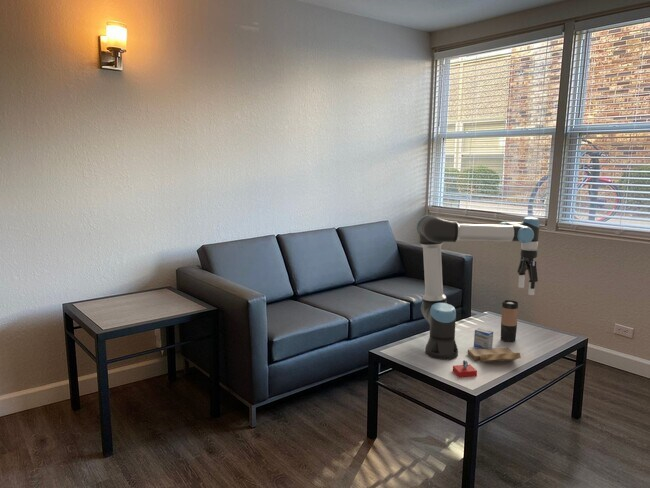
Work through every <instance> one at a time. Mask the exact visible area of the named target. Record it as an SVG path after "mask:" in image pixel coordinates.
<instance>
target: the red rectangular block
mask: <svg viewBox="0 0 650 488" xmlns="http://www.w3.org/2000/svg"><path fill="white" fill-rule="evenodd" d="M452 373H454V375H456V376H457V377H458V378H461V379H462V378H473V377H477V376H478V370H477V369H476V368H475V367H473V366H472V365H471V364H469V362H468V361H467V360H463V361H462V364H457V365H452Z"/></svg>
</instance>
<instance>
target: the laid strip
mask: <svg viewBox="0 0 650 488" xmlns="http://www.w3.org/2000/svg"><path fill="white" fill-rule="evenodd" d="M504 353H515V352H514V351H513V350H512V349H511V348H510V347H494V348H493V347H492V348H489V349H481V348H476V349H475V348H473V349H471V348H470V349H467V355H468V356H469V357H470V359H472V361H474V362H480V356H482V355H486V354H504Z"/></svg>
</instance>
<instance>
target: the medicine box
mask: <svg viewBox="0 0 650 488" xmlns="http://www.w3.org/2000/svg"><path fill="white" fill-rule="evenodd" d="M473 334H474V335H473V336H474V339H473V347H474V348H476V349H489V348H493V345H494V343H493V342H494V331H491V330H487V329H482V328H476V329H475V330H474V333H473Z"/></svg>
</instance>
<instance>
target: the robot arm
mask: <svg viewBox="0 0 650 488" xmlns="http://www.w3.org/2000/svg"><path fill="white" fill-rule="evenodd" d="M416 231H417V234H418V236H419V238H418V239H419V245H420V246H422V253H423V271H424V272H423V273H424V274H423V275H424V276H423V277H424V295H423V296H422V303H421V306H420V311H421V312H420V313H421V314H422V317H423V318H424V319H425V320H426V322H427V323H428V324H429V338H428V340H427V344H426V345H425V351H424V353H425V354H426V356H427V357H430V358H432V359H435V360H436V359H437V360H454V359H456V358H457V357H458V356H459V349H458V345H457V342H456V337H455V336H456V319H457V312H456V311H457V310H456V308H455V306H454V305H452V304H449V303H447V296H446V294H444V285H443V283H444V282H443V264H442V245H443V244H444V243H457V242H458V241H482V242H484V241H485V242H487V241H488V242H489V241H490V242H513V243H514V242H515V243H516V242H517V243H518V242H520V244H521V246H520V248H521V249H520V260H519V265H518V268H517V270H516V271H517V274H518V285H517V287H518V289H524V288H525V282H526V281H525V280H526V279H525V277H526V272H527V271H528V273H527V274H528V277H529V280H528V291H527V292H528V293H527V295H528V296H535V291H536V282H537V283H538V281H539V279H538V271H537V270H538V269H537V261H534V259H536V258H537V257H538V247H539V246H538V245H539V233H540V219H539V218H538V217H528V216H527V217H523V219H522V221H500V222H499V223H498V224H483V223H481V224H480V223H475V224H474V223H458V222H457V221H454V220H446V219H443V218H440V217H438V216H436V215H434V214H426V215H423V216H421V217H420V218H419V220H418V221H417V223H416Z"/></svg>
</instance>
